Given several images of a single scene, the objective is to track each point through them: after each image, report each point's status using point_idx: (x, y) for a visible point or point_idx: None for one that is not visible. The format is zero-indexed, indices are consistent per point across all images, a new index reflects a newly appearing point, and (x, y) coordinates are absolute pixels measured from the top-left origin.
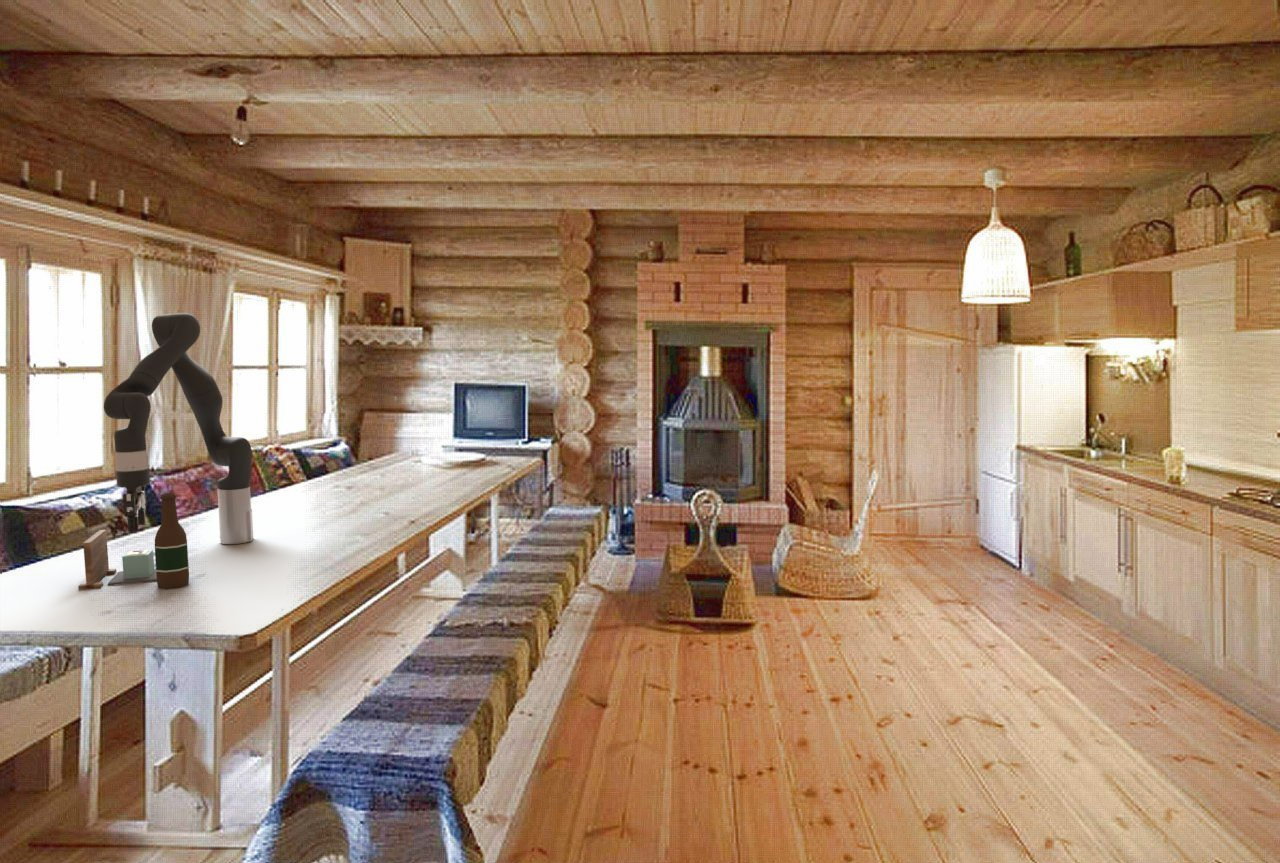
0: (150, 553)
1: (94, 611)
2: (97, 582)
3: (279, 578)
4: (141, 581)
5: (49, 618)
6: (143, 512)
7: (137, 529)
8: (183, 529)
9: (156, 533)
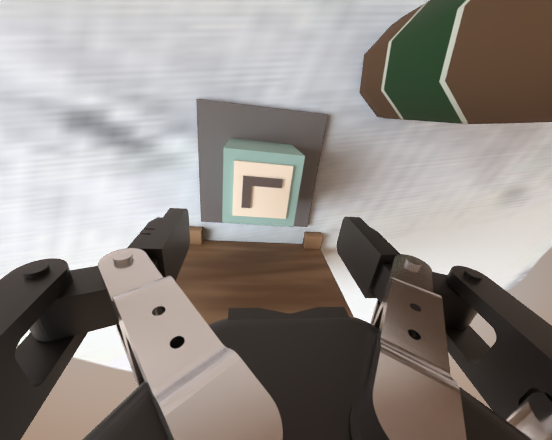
0: (269, 151)
1: (489, 216)
2: (305, 245)
3: None
4: (318, 160)
5: (474, 268)
6: (163, 246)
7: (360, 220)
8: None
9: (529, 117)
